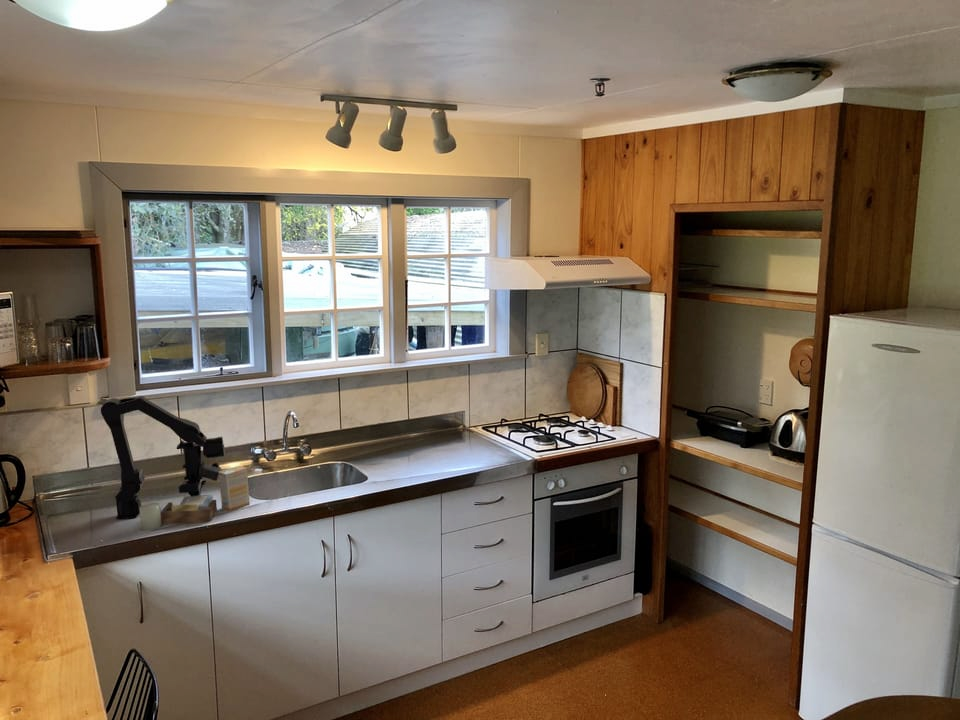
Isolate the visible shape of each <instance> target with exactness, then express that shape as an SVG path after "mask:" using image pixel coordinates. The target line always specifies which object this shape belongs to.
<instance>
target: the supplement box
mask: <svg viewBox="0 0 960 720" xmlns="http://www.w3.org/2000/svg"><path fill="white" fill-rule="evenodd" d="M247 469H248V468H247V467H245V466H241V465H237V466H234V467H230V468H228V469H227V468H226V469H224V470H221V471H220V472H219V478H218V479H219V490H220V492H219V493H220V501H221V508H222V509H224V510H226V511H232V510H236V509H238V508H242V507H244V506H247V505H250V504H251V503H250V492H249V491H250V490H249V489H250V488H249V482H248V481H249V479H248V470H247Z"/></svg>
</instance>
